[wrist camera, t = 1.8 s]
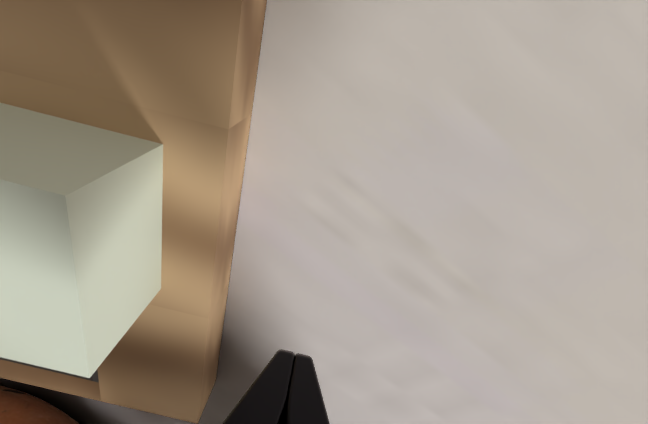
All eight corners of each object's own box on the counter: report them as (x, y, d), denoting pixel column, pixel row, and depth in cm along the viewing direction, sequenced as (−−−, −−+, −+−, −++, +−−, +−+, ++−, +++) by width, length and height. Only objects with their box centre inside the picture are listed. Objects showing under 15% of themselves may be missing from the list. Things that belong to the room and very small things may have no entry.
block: (161, 288, 13) (89, 378, 10) (10, 251, 13) (-119, 329, 10) (163, 144, 11) (65, 195, 7) (-28, 95, 10) (-226, 122, 7)
